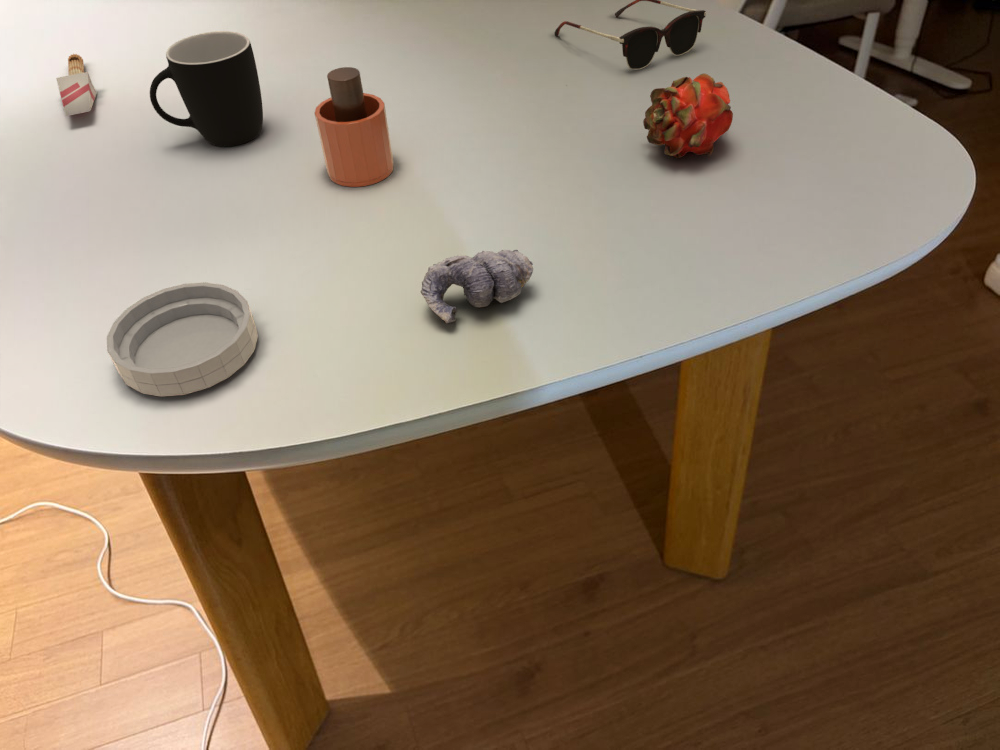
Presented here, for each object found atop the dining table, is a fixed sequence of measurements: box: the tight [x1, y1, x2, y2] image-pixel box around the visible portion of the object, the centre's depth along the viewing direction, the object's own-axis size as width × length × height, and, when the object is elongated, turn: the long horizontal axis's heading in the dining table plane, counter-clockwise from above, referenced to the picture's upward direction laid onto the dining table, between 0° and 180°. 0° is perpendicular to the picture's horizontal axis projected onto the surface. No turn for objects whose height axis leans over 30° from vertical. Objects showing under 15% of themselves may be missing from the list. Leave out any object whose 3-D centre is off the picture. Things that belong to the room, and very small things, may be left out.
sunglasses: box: [554, 0, 707, 70], centre depth 106 cm, size 14×16×5 cm
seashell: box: [420, 249, 534, 324], centre depth 67 cm, size 5×5×10 cm
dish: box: [106, 281, 259, 397], centre depth 64 cm, size 11×11×3 cm
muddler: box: [326, 66, 367, 122], centre depth 82 cm, size 3×3×10 cm
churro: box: [55, 53, 98, 117], centre depth 102 cm, size 4×3×20 cm
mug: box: [149, 30, 264, 147], centre depth 89 cm, size 12×9×10 cm
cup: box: [314, 92, 394, 188], centre depth 83 cm, size 7×7×7 cm
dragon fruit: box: [642, 73, 734, 159], centre depth 84 cm, size 8×8×12 cm
